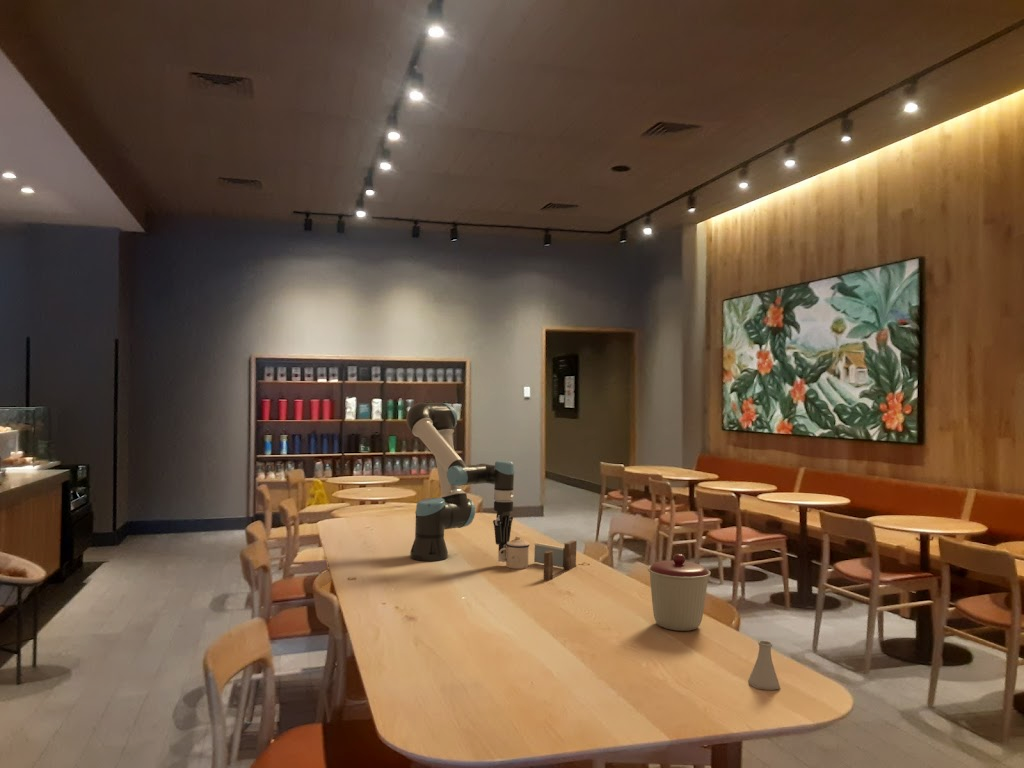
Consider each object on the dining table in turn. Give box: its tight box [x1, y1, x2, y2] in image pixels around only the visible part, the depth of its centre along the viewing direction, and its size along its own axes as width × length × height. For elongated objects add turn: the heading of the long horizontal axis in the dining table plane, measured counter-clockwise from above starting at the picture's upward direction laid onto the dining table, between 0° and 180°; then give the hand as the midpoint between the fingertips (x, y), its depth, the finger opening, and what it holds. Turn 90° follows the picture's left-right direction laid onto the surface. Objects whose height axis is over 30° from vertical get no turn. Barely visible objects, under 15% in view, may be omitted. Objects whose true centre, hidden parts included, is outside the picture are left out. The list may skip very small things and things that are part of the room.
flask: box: [748, 639, 781, 691], centre depth 179 cm, size 7×7×10 cm
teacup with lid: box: [499, 535, 530, 570], centre depth 296 cm, size 12×9×12 cm
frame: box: [542, 540, 577, 581], centre depth 287 cm, size 2×28×10 cm, turn 154°
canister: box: [647, 553, 711, 632], centre depth 224 cm, size 18×18×21 cm
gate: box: [534, 542, 564, 569], centre depth 299 cm, size 14×1×8 cm, turn 50°
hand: (502, 561), depth 297 cm, fingers closed
